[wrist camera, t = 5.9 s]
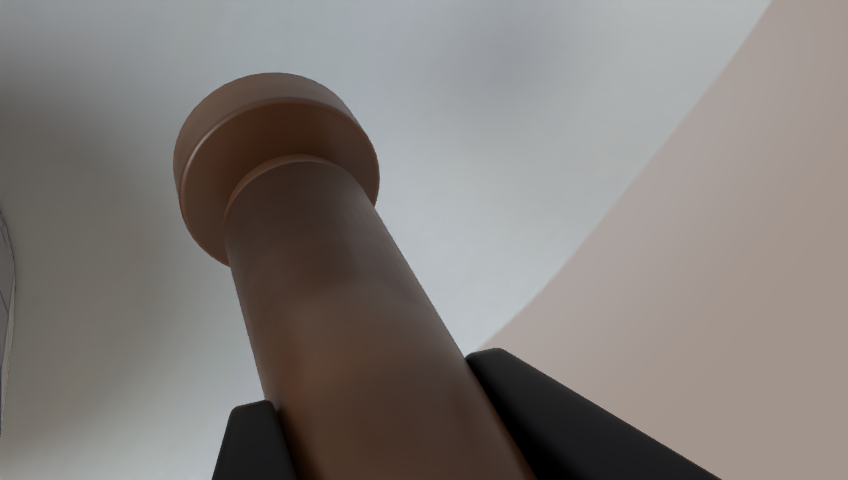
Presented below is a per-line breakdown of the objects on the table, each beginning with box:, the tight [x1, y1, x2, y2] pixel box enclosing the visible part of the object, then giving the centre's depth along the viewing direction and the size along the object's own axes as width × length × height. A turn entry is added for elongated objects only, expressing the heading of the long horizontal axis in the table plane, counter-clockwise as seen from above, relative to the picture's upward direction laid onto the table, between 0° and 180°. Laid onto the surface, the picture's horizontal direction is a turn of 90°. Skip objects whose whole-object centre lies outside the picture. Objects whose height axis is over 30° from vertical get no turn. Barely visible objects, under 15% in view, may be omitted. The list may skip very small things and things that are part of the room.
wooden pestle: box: [173, 73, 538, 480], centre depth 8 cm, size 3×3×12 cm
